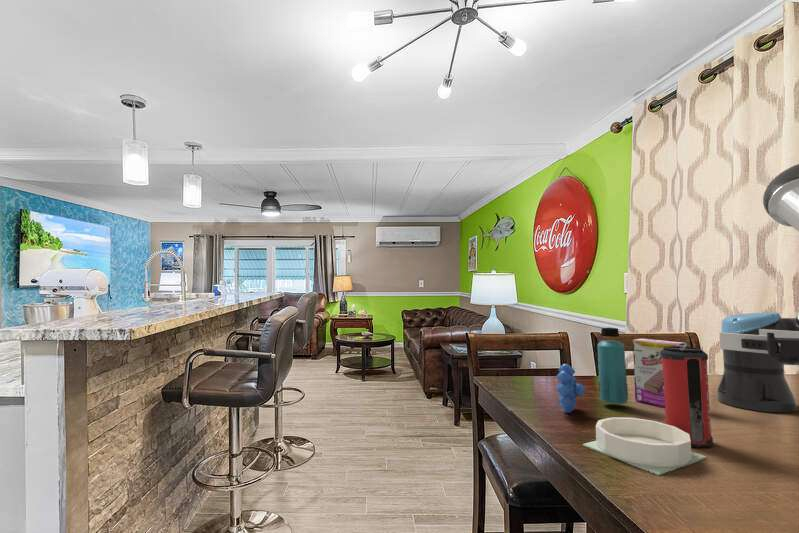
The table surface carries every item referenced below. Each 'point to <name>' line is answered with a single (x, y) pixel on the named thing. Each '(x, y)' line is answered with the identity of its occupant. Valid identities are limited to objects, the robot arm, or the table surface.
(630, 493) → the table surface
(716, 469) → the table surface
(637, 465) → the mat
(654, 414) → the table surface
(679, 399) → the speaker
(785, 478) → the table surface
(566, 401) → the grapes
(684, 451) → the bowl
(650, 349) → the candy bar box
